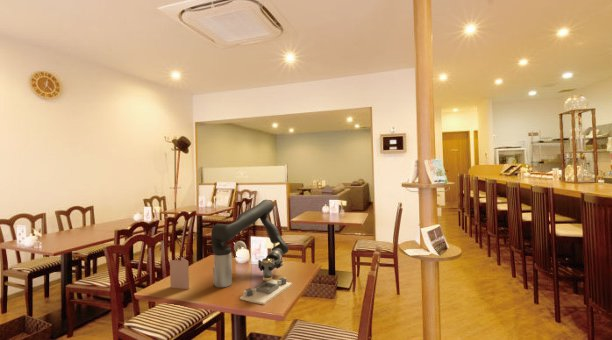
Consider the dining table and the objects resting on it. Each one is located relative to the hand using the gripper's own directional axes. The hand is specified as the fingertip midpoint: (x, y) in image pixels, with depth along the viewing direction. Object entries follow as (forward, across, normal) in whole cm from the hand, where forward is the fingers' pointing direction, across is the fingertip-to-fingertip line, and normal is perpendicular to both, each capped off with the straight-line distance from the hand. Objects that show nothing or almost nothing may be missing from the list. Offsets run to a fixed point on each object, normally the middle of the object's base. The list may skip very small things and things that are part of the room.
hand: (265, 269), depth 152 cm
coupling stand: (-2, 0, +13) cm, 13 cm away
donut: (-67, -38, +14) cm, 79 cm away
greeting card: (-5, -49, +13) cm, 51 cm away
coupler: (-3, 0, +6) cm, 7 cm away
